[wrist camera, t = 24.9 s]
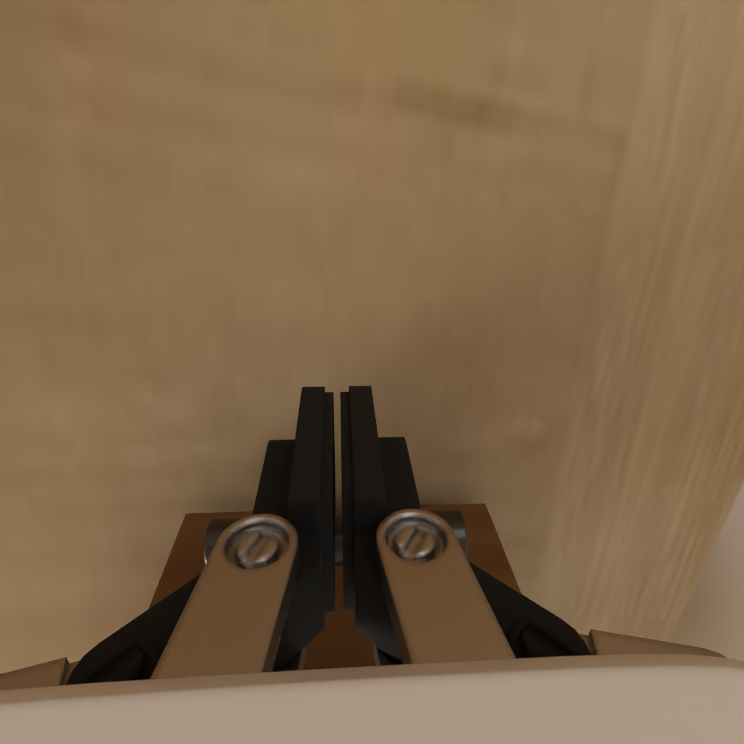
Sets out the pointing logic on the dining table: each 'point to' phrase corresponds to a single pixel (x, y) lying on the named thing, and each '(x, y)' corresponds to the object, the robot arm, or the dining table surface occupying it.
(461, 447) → the dining table surface
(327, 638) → the drawer
